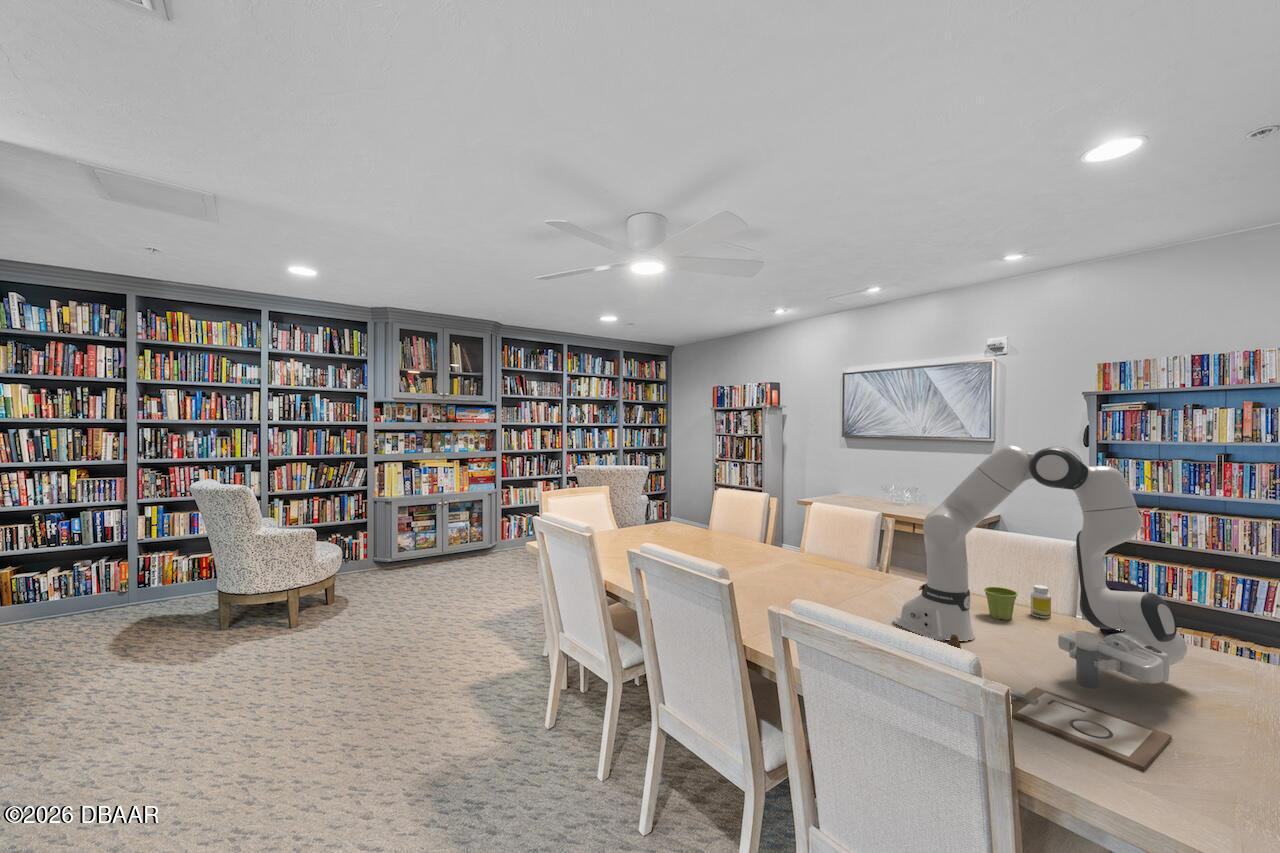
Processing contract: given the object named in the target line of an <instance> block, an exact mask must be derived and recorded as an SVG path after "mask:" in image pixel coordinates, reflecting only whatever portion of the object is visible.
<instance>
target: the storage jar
mask: <svg viewBox="0 0 1280 853" xmlns="http://www.w3.org/2000/svg"><path fill="white" fill-rule="evenodd" d="M1105 581H1106V586H1107V588H1108V589H1109V590H1112V591H1128V592H1129V591H1134V592H1143V587H1141V586H1140V585H1138V584H1137V585H1136V584H1133V583H1129V582H1123V581H1117V580H1105ZM1121 630H1123V629H1120V631H1119V630H1116V629H1101V628H1099V632H1100V631H1101V632H1102V634H1103V633H1104V634H1103V635H1105V634H1106V636H1107V635H1111V634H1117V633H1124V632H1125V630H1123V631H1121ZM1101 632H1100V633H1101Z"/></svg>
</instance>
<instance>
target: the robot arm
mask: <svg viewBox="0 0 1280 853" xmlns="http://www.w3.org/2000/svg"><path fill="white" fill-rule="evenodd" d="M1029 480H1034V481H1036V482H1037V483H1039V484H1040V485H1042V486H1045V487H1048V488H1053V489H1063V490H1064V489H1065V490H1072V491H1073V492H1074V493H1075V495H1076V497H1077V498H1078V501H1079V505H1080V509H1081V513H1082V516H1083V523H1082V524H1083V525H1082V529H1081V530H1079V531H1078V532H1077V534H1076V539H1075V543H1076V544H1075V545H1076V546H1075V547H1076V556H1077V558H1076V559H1077V565H1078V566H1077V567H1078V575H1079V585H1080V593H1079V594H1080V595H1079V609H1080V612H1081V613H1082V616H1083V617H1084V618H1085V620H1087V622H1089V623H1090V624H1091V625H1092V626H1094V627H1096V628H1097V629H1100V628H1101V629H1123V630H1125V632H1124V633H1117V634H1111V635H1108V636H1107V635H1106V636H1105V637H1104V638H1103V639H1100V638H1099V650H1098V659H1097V660H1094V661H1093V663H1094V664H1093V666H1094V667H1095V668H1098V670H1101V671H1102V670H1108V671H1115V672H1117V673H1120V674H1122V675H1125V676H1127V677H1130V678H1133V679H1135V680H1137V681H1139V682H1142V683H1145V684H1150V685H1151V684H1152V685H1153V684H1160V683H1167V682H1169V678H1170V666H1172V665H1175V664H1177V663H1179V662H1180V661H1182V660H1183V659H1184V658H1185V656H1186V655H1187V652H1188V645H1187V643H1186V641H1185V639H1184V638H1183V636H1182V635H1181V634H1180V633H1179V632H1178V631H1177V630H1178V626H1177V620H1176V619H1177V618H1176V616H1175V613H1174V610H1173V609H1172V608H1171V606H1170V605H1169V603H1168V602H1166V601H1165V600H1164V598H1162V597H1160V596H1159V595H1158V594H1156V593H1153V592H1146V591H1144V592H1143V591H1142V592H1134V591H1129V592H1128V591H1112V590H1109V589H1108V588H1107V586H1106V581H1107V580H1106V573H1105V565H1104V557H1105V554H1106V552H1107V551H1108V550H1110V549H1112V548H1114V547H1116V546H1118V545H1121V544H1123V543H1126V542H1128V541H1130V540H1132V539H1133V538H1134V537H1135V536H1136V535H1137V534H1138V532H1139V531H1140V530H1141V524H1142V521H1141V515H1140V512H1139V508H1138V506H1137V504H1136V500H1135V497H1134V495H1133V492H1132V489H1131V488H1130V486H1129V483H1128V482H1127V481H1126V478H1125V477H1124V475H1123V474H1122V472H1121V471H1120V470H1119V469H1118V468H1115V467H1112V466H1108V465H1095V466H1091V465H1090V466H1089V465H1086V464H1084V462H1083V461H1082V458H1081V457H1080V456H1079V454H1077V453H1076V452H1075V451H1073V450H1071V449H1070V448H1067V447H1063V446H1050V447H1049V446H1048V447H1046V448H1043V449H1040V450H1039V451H1036V452H1034V453H1033V452H1029V451H1027V450H1025V449H1023V448H1022V447H1020V446H1016V445H1011V444H1009V445H1004V446H1002V447H1000V448H999V449H997V450H996V451H995V452H993V453H991V455H989V456H988V457H986V458H985V459H984V460H982V462H981V463H980V464H979V465H978V466H977V467H976V468H975V469H974V470H973V471H972V472H971V473H970V474H969V475H968V476H967V477H965V479H964V480H963V481H961V483H959V484H958V485H957V486H956V488H955V489H954V490H952V492H951V493H950V494H949V495H948V496H947V497H946V498H945V499H944V500H943V501H942V502H941V503H940V504H939V505H938V506H937V507H936V508H935V509H934V510H932V511H931V512H929V513H928V514H927V515H926V517H924V519H923V523H922V525H923V526H922V531H923V540H924V547H925V548H924V549H925V556H926V583H924V584H922V585H920V586H919V587H918V591H921V594H918V596H915V597H914V598H911V599H910V600H908V601H906V602H905V603H904V604H903V605H902V608H901V612H900V614H899V615H897V616H895V617H894V618H893V621H892V622H893V624H894V625H896V624H897V625H896V626H898V625H899V626H898V627H901V626H902V627H901V628H903V629H905V630H906V631H910V632H912V633H914V634H917V635H919V634H920V635H919V636H921V635H923V636H922V637H924V636H927V637H929V638H933V639H935V640H934V641H945V640H946V639H950V638H951V635H957V636H958V640H959V641H960V640H962V641H965V642H969V641H968V640H971V641H973V640H974V639H975V638H976V636H975V633H974V630H973V624H972V621H971V617H970V616H971V614H970V608H971V592H970V591H971V590H970V589H969V562H968V555H967V546H966V545H967V543H966V542H967V540H966V538H967V537H966V536H967V535H968V534H969V532H970V531H972V530H973V529H974V528H975V527H976V526H977V525H978V524H979V523H980V522H982V521H983V520H984V519H985V518H986V517H988V515H990V514H991V513H992V512H993V511H994V510H995V509H997V507H998V506H999V505H1000V504H1002V503H1003V501H1004V500H1006V499H1007V498H1008V497H1009V496H1010V495H1012V494H1013V492H1014V491H1015V490H1016V489H1017V488H1018V487H1020V486H1021V485H1022V484H1023V483H1025V482H1026V481H1029ZM913 630H914V631H913ZM943 639H945V640H943ZM1057 639H1058V640H1057V644H1058V645H1057V646H1058V648H1059V649H1060V650H1062V651H1065V652H1068V654H1069V655H1068V656H1069V658H1072V659H1074V660H1076V632H1066V633H1060V634H1058V637H1057Z"/></svg>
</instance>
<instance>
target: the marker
mask: <svg viewBox="0 0 1280 853" xmlns="http://www.w3.org/2000/svg"><path fill="white" fill-rule="evenodd" d="M1075 633H1076V659H1075V664H1076V665H1075V668H1076V669H1075V682H1076V684H1077V685H1078V686H1080V687H1083V688H1085V689H1090V690H1096V689H1098V688H1099V669H1098V668H1095V667H1094V666H1093V664H1094V663H1093V661H1094V660H1097V659H1098V650H1099V639H1100V638H1099V637H1100V636H1099V634H1098V635H1097V634H1095V633H1093V632H1090V631H1084V630H1077V631H1075Z"/></svg>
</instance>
